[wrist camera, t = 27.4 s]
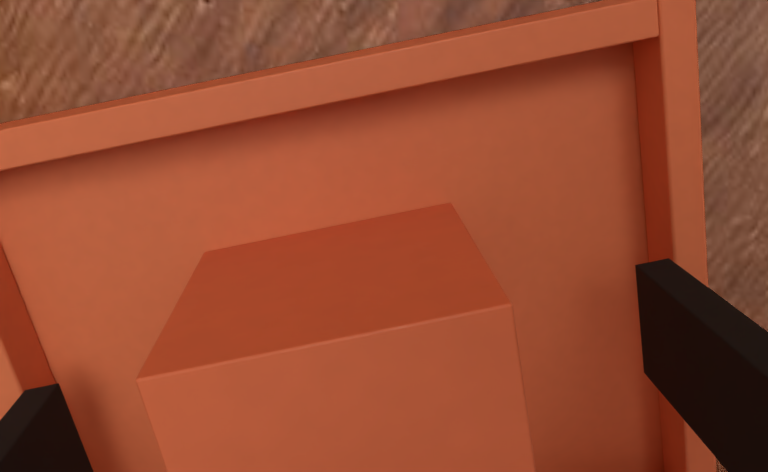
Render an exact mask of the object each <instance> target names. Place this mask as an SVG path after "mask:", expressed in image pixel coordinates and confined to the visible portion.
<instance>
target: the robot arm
mask: <svg viewBox="0 0 768 472" xmlns="http://www.w3.org/2000/svg"><path fill="white" fill-rule="evenodd" d="M635 269H636V281H637V293H638V306H639V318H640V331H641V343H642V355H643V368H644V373H645V374H646V376H647V377H648V378H649V379H650V380H651V381H652V383H653V384H654V385H655V386H656V387H657V389H658V390H659V391H660V392H661V393H662V394H663V396H664V397H665V398H666V399H667V400H668V402H669V403H670V404H671V405H672V406H673V407H674V409H675V410H676V411H677V412H678V413H679V414H680V416H681V417H682V418H683V419H684V420H685V422H686V423H687V424H688V425H689V426H690V427H691V429H692V430H693V431H694V432H695V433H696V435H697V436H698V437H699V438H700V439H701V440H702V442H703V443H704V444H705V445H706V446H707V448H708V449H709V450H710V451H711V452H712V453H713V455H714V456H715V457H716V458H717V459H718V460H719V462H720V463H721V464H722V465H723V466H724V468H725V469H726V470H727V471H728V472H768V332H767V331H766V330H764V329H763V328H762V327H760V326H759V325H758V324H756V323H755V322H754V321H752V320H751V319H750V318H748V317H747V316H746V315H744V314H743V313H742V312H740V311H739V310H738V309H736V308H735V307H734V306H732V305H731V304H730V303H728V302H727V301H726V300H724V299H723V298H722V297H720V296H719V295H718V294H716V293H715V292H714V291H712V290H711V289H710V288H708V287H707V286H705V285H704V284H703V283H701V282H700V281H699V280H697V279H696V278H695V277H693V276H692V275H691V274H689V273H688V272H687V271H685V270H684V269H683V268H681V267H680V266H679V265H677V264H676V263H675V262H673V261H672V260H671V259H669V258H667V259H662V260H658V261H653V262H648V263H643V264H638V265H635ZM0 472H93V469H92V467H91V464H90V461H89V459H88V456H87V454H86V451H85V449H84V446H83V444H82V441H81V439H80V436H79V433H78V431H77V428H76V426H75V423H74V421H73V418H72V416H71V413H70V411H69V408H68V406H67V403H66V400H65V398H64V395H63V393H62V390H61V388H60V385H59V383H57V384H53V385H48V386H43V387H38V388H33V389H28V390H25V391H24V392H23V393H22V394H21V396H20V397H19V398H18V399H17V400H16V402H15V403H14V404H13V405H12V407H11V408H10V409H9V410H8V411H7V413H6V414H5V415H4V416H3V418H2V419H1V420H0Z"/></svg>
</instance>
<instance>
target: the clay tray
mask: <svg viewBox="0 0 768 472" xmlns="http://www.w3.org/2000/svg"><path fill="white" fill-rule="evenodd" d="M445 203H452V205H453V207H454V208H455V210H456V212H457V213H458V215H459V217H460V218H461V220H462V222H463V223H464V225H465V227H466V228H467V230H468V232H469V233H470V235H471V237H472V238H473V240H474V242H475V243H476V245H477V247H478V248H479V250H480V252H481V253H482V255H483V257H484V258H485V260H486V262H487V263H488V265H489V267H490V268H491V270H492V272H493V273H494V275H495V277H496V278H497V280H498V282H499V283H500V285H501V287H502V288H503V290H504V292H505V293H506V295H507V297H508V298H509V300H510V302H511V303H512V305H513V311H514V318H515V325H516V333H517V340H518V347H519V354H520V361H521V368H522V375H523V382H524V389H525V396H526V403H527V410H528V417H529V424H530V432H531V439H532V446H533V453H534V460H535V467H536V472H716V457H715V456H714V455H713V453H712V452H711V451H710V450H709V449H708V448H707V446H706V445H705V444H704V443H703V442H702V440H701V439H700V438H699V437H698V436H697V435H696V433H695V432H694V431H693V430H692V429H691V427H690V426H689V425H688V424H687V423H686V422H685V420H684V419H683V418H682V417H681V416H680V414H679V413H678V412H677V411H676V410H675V409H674V407H673V406H672V405H671V404H670V403H669V402H668V400H667V399H666V398H665V397H664V396H663V394H662V393H661V392H660V391H659V390H658V389H657V387H656V386H655V385H654V384H653V383H652V381H651V380H650V379H649V378H648V377H647V376H646V374H645V373H644V368H643V355H642V343H641V331H640V318H639V306H638V293H637V281H636V269H635V265H638V264H643V263H648V262H653V261H658V260H662V259H667V258H669V259H671V260H672V261H673V262H675V263H676V264H677V265H679V266H680V267H681V268H683V269H684V270H685V271H687V272H688V273H689V274H691V275H692V276H693V277H695V278H696V279H697V280H699V281H700V282H701V283H703V284H704V285H705V286H707V287H708V270H707V248H706V226H705V203H704V181H703V158H702V136H701V113H700V91H699V69H698V46H697V24H696V1H695V0H603V1H598V2H593V3H588V4H583V5H578V6H573V7H568V8H563V9H558V10H554V11H549V12H544V13H539V14H534V15H529V16H524V17H519V18H514V19H509V20H505V21H500V22H495V23H490V24H485V25H480V26H475V27H470V28H465V29H460V30H456V31H451V32H446V33H441V34H436V35H431V36H426V37H421V38H416V39H411V40H407V41H402V42H397V43H392V44H387V45H382V46H377V47H372V48H367V49H362V50H358V51H353V52H348V53H343V54H338V55H333V56H328V57H323V58H318V59H313V60H309V61H304V62H299V63H294V64H289V65H284V66H279V67H274V68H269V69H264V70H260V71H255V72H250V73H245V74H240V75H235V76H230V77H225V78H220V79H215V80H211V81H206V82H201V83H196V84H191V85H186V86H181V87H176V88H171V89H166V90H162V91H157V92H152V93H147V94H142V95H137V96H132V97H127V98H122V99H117V100H113V101H108V102H103V103H98V104H93V105H88V106H83V107H78V108H73V109H68V110H64V111H59V112H54V113H49V114H44V115H39V116H34V117H29V118H24V119H19V120H14V121H10V122H5V123H0V420H1V419H2V418H3V416H4V415H5V414H6V413H7V411H8V410H9V409H10V408H11V407H12V405H13V404H14V403H15V402H16V400H17V399H18V398H19V397H20V396H21V394H22V393H23V392H24V391H25V390H28V389H33V388H38V387H43V386H48V385H53V384H57V383H59V385H60V388H61V390H62V393H63V395H64V398H65V400H66V403H67V406H68V408H69V411H70V413H71V416H72V418H73V421H74V423H75V426H76V428H77V431H78V433H79V436H80V439H81V441H82V444H83V446H84V449H85V451H86V454H87V456H88V459H89V461H90V464H91V467H92V469H93V472H167V471H166V468H165V465H164V462H163V460H162V457H161V454H160V451H159V448H158V445H157V442H156V439H155V437H154V434H153V431H152V428H151V425H150V422H149V419H148V416H147V414H146V411H145V408H144V405H143V402H142V399H141V396H140V393H139V391H138V388H137V385H136V382H135V380H136V378H137V376H138V374H139V372H140V370H141V368H142V366H143V365H144V363H145V361H146V359H147V357H148V355H149V353H150V352H151V350H152V348H153V346H154V344H155V342H156V340H157V339H158V337H159V335H160V333H161V331H162V329H163V328H164V326H165V324H166V322H167V320H168V318H169V316H170V315H171V313H172V311H173V309H174V307H175V305H176V303H177V302H178V300H179V298H180V296H181V294H182V292H183V290H184V289H185V287H186V285H187V283H188V281H189V279H190V278H191V276H192V274H193V272H194V270H195V268H196V266H197V265H198V263H199V261H200V259H201V257H202V255H203V253H204V252H207V251H212V250H217V249H222V248H227V247H232V246H237V245H242V244H247V243H252V242H257V241H262V240H267V239H272V238H277V237H282V236H286V235H291V234H296V233H301V232H306V231H311V230H316V229H321V228H326V227H331V226H336V225H341V224H346V223H351V222H356V221H361V220H366V219H371V218H376V217H381V216H386V215H391V214H396V213H401V212H406V211H411V210H415V209H420V208H425V207H430V206H435V205H440V204H445Z"/></svg>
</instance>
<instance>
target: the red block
mask: <svg viewBox="0 0 768 472" xmlns="http://www.w3.org/2000/svg"><path fill="white" fill-rule="evenodd" d="M135 382H136V385H137V388H138V391H139V393H140V396H141V399H142V402H143V405H144V408H145V411H146V414H147V416H148V419H149V422H150V425H151V428H152V431H153V434H154V437H155V439H156V442H157V445H158V448H159V451H160V454H161V457H162V460H163V462H164V465H165V468H166V471H167V472H536V467H535V460H534V453H533V446H532V439H531V432H530V424H529V417H528V410H527V403H526V396H525V389H524V382H523V375H522V368H521V361H520V354H519V347H518V340H517V333H516V325H515V318H514V311H513V305H512V303H511V302H510V300H509V298H508V297H507V295H506V293H505V292H504V290H503V288H502V287H501V285H500V283H499V282H498V280H497V278H496V277H495V275H494V273H493V272H492V270H491V268H490V267H489V265H488V263H487V262H486V260H485V258H484V257H483V255H482V253H481V252H480V250H479V248H478V247H477V245H476V243H475V242H474V240H473V238H472V237H471V235H470V233H469V232H468V230H467V228H466V227H465V225H464V223H463V222H462V220H461V218H460V217H459V215H458V213H457V212H456V210H455V208H454V207H453V205H452V203H445V204H440V205H435V206H430V207H425V208H420V209H415V210H411V211H406V212H401V213H396V214H391V215H386V216H381V217H376V218H371V219H366V220H361V221H356V222H351V223H346V224H341V225H336V226H331V227H326V228H321V229H316V230H311V231H306V232H301V233H296V234H291V235H286V236H282V237H277V238H272V239H267V240H262V241H257V242H252V243H247V244H242V245H237V246H232V247H227V248H222V249H217V250H212V251H207V252H204V253H203V255H202V257H201V259H200V261H199V263H198V265H197V266H196V268H195V270H194V272H193V274H192V276H191V278H190V279H189V281H188V283H187V285H186V287H185V289H184V290H183V292H182V294H181V296H180V298H179V300H178V302H177V303H176V305H175V307H174V309H173V311H172V313H171V315H170V316H169V318H168V320H167V322H166V324H165V326H164V328H163V329H162V331H161V333H160V335H159V337H158V339H157V340H156V342H155V344H154V346H153V348H152V350H151V352H150V353H149V355H148V357H147V359H146V361H145V363H144V365H143V366H142V368H141V370H140V372H139V374H138V376H137V378H136V380H135Z"/></svg>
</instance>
